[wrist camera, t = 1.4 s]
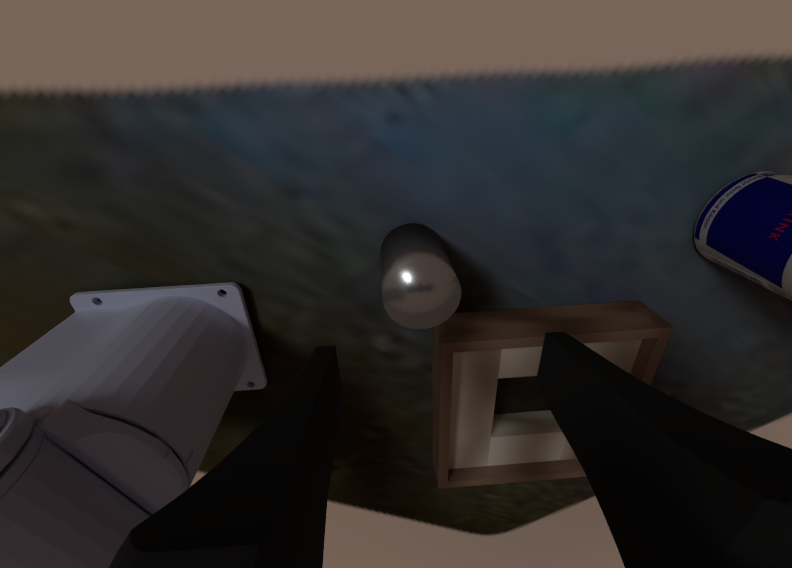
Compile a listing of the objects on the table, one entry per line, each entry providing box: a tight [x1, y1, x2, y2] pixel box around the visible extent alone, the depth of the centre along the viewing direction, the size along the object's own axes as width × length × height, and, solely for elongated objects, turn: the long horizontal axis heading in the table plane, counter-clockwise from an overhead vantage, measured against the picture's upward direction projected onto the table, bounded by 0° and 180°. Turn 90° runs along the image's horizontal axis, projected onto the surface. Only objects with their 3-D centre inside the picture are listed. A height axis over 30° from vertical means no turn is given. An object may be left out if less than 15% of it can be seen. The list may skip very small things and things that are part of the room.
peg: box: [380, 223, 461, 329], centre depth 18 cm, size 4×4×5 cm
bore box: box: [432, 301, 673, 489], centre depth 25 cm, size 13×13×3 cm
